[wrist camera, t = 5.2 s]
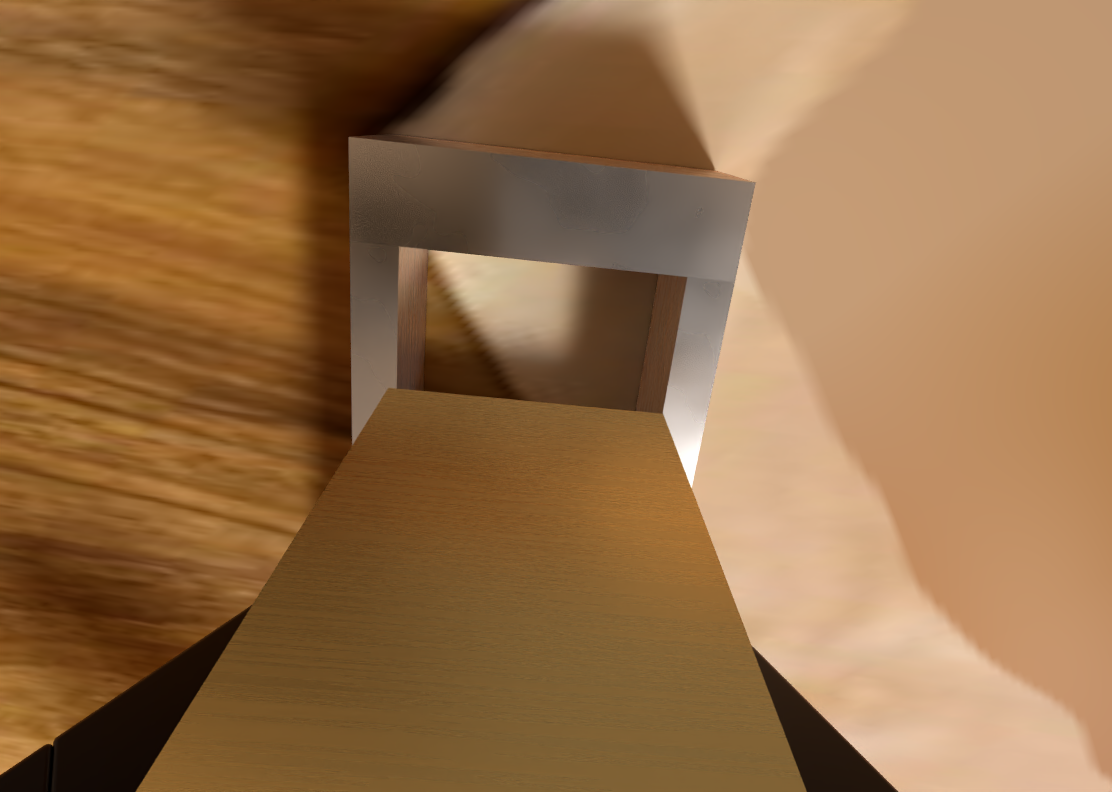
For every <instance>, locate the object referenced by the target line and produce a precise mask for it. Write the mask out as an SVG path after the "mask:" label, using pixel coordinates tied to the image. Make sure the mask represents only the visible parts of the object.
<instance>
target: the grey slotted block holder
mask: <svg viewBox="0 0 1112 792" xmlns="http://www.w3.org/2000/svg"><path fill="white" fill-rule="evenodd" d="M754 188H755V182H752V181H749V180H745V179H742V178H739V177H735V176H732V175H729V174H725V173H722V172H719V171H714V170H705V169H697V168H688V167H679V166H670V165H661V164H652V163H643V162H634V161H626V160H617V159H608V158H599V157H590V156H581V155H572V154H563V153H555V152H546V151H537V150H528V149H519V148H510V147H501V146H492V145H483V144H475V143H466V142H457V141H448V140H439V139H430V138H421V137H412V136H404V135H395V134H383V135H368V136H354V137H349V218H350V303H351V389H352V445H353V443H354V442H355V440H356V439H357V437H358V435H359V434H360V432H361V431H362V429H363V427H364V426H365V424H366V423H367V421H368V419H369V418H370V416H371V415H372V413H373V411H374V410H375V408H376V407H377V405H378V403H379V402H380V400H381V399H382V397H383V395H384V394H385V392H386V391H387V389H388V388H397V389H407V390H418V391H423V390H424V359H425V328H426V298H427V267H428V250H437V251H447V252H456V253H465V254H475V255H484V256H494V257H503V258H513V259H522V260H532V261H541V262H550V263H560V264H569V265H579V266H588V267H598V268H607V269H617V270H626V271H635V272H645V273H654V274H658V279H657V285H656V291H655V297H654V303H653V309H652V315H651V321H650V327H649V333H648V339H647V345H646V351H645V357H644V364H643V370H642V376H641V382H640V388H639V394H638V400H637V406H636V411H639V412H649V413H660V414H663V415H664V417H665V420H666V422H667V425H668V428H669V430H670V433H671V436H672V438H673V441H674V444H675V446H676V449H677V451H678V454H679V457H680V459H681V462H682V465H683V467H684V470H685V472H686V475H687V478H688V480H689V483H690V486H691V488H692V483H693V478H694V473H695V469H696V464H697V459H698V454H699V450H700V445H701V440H702V435H703V430H704V426H705V421H706V416H707V411H708V407H709V402H710V397H711V392H712V388H713V383H714V378H715V373H716V369H717V364H718V359H719V354H720V350H721V345H722V340H723V335H724V330H725V326H726V321H727V316H728V311H729V307H730V302H731V297H732V292H733V288H734V283H735V278H736V273H737V269H738V264H739V259H740V254H741V249H742V245H743V240H744V235H745V230H746V226H747V221H748V216H749V211H750V207H751V202H752V197H753V192H754Z"/></svg>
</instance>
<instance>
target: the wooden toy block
mask: <svg viewBox="0 0 1112 792" xmlns="http://www.w3.org/2000/svg"><path fill="white" fill-rule="evenodd" d="M136 792H807V791H806V788H805V786H804V783H803V781H802V778H801V775H800V773H799V770H798V767H797V765H796V762H795V759H794V757H793V754H792V752H791V749H790V746H789V744H788V741H787V738H786V736H785V733H784V730H783V728H782V725H781V723H780V720H779V717H778V715H777V712H776V709H775V707H774V704H773V702H772V699H771V696H770V694H769V691H768V688H767V686H766V683H765V680H764V678H763V675H762V673H761V670H760V667H759V665H758V662H757V659H756V657H755V654H754V652H753V649H752V646H751V644H750V641H749V638H748V636H747V633H746V630H745V628H744V625H743V623H742V620H741V617H740V615H739V612H738V609H737V607H736V604H735V601H734V599H733V596H732V594H731V591H730V588H729V586H728V583H727V580H726V578H725V575H724V573H723V570H722V567H721V565H720V562H719V559H718V557H717V554H716V551H715V549H714V546H713V544H712V541H711V538H710V536H709V533H708V530H707V528H706V525H705V523H704V520H703V517H702V515H701V512H700V509H699V507H698V504H697V501H696V499H695V496H694V494H693V491H692V488H691V486H690V483H689V480H688V478H687V475H686V472H685V470H684V467H683V465H682V462H681V459H680V457H679V454H678V451H677V449H676V446H675V444H674V441H673V438H672V436H671V433H670V430H669V428H668V425H667V422H666V420H665V417H664V415H663V414H660V413H649V412H639V411H628V410H618V409H607V408H597V407H586V406H576V405H565V404H555V403H544V402H534V401H523V400H512V399H502V398H491V397H481V396H470V395H460V394H449V393H439V392H428V391H418V390H407V389H397V388H388V389H387V391H386V392H385V394H384V395H383V397H382V399H381V400H380V402H379V403H378V405H377V407H376V408H375V410H374V411H373V413H372V415H371V416H370V418H369V419H368V421H367V423H366V424H365V426H364V427H363V429H362V431H361V432H360V434H359V435H358V437H357V439H356V440H355V442H354V443H353V445H352V447H351V448H350V450H349V451H348V453H347V455H346V456H345V458H344V459H343V461H342V463H341V464H340V466H339V467H338V469H337V471H336V472H335V474H334V475H333V477H332V479H331V480H330V482H329V483H328V485H327V487H326V488H325V490H324V491H323V493H322V495H321V496H320V498H319V499H318V501H317V503H316V504H315V506H314V507H313V509H312V511H311V512H310V514H309V515H308V517H307V519H306V520H305V522H304V523H303V525H302V527H301V528H300V530H299V531H298V533H297V535H296V536H295V538H294V539H293V541H292V543H291V544H290V546H289V547H288V549H287V551H286V552H285V554H284V555H283V557H282V559H281V560H280V562H279V563H278V565H277V567H276V568H275V570H274V571H273V573H272V575H271V576H270V578H269V579H268V581H267V583H266V584H265V586H264V587H263V589H262V591H261V592H260V594H259V595H258V597H257V599H256V600H255V602H254V603H253V605H252V607H251V608H250V610H249V611H248V613H247V615H246V616H245V618H244V619H243V621H242V623H241V624H240V626H239V627H238V629H237V631H236V632H235V634H234V635H233V637H232V639H231V640H230V642H229V643H228V645H227V647H226V648H225V650H224V651H223V653H222V655H221V656H220V658H219V659H218V661H217V663H216V664H215V666H214V667H213V669H212V671H211V672H210V674H209V675H208V677H207V679H206V680H205V682H204V683H203V685H202V687H201V688H200V690H199V691H198V693H197V695H196V696H195V698H194V699H193V701H192V703H191V704H190V706H189V707H188V709H187V711H186V712H185V714H184V715H183V717H182V719H181V720H180V722H179V723H178V725H177V727H176V728H175V730H174V731H173V733H172V735H171V736H170V738H169V739H168V741H167V743H166V744H165V746H164V747H163V749H162V751H161V752H160V754H159V755H158V757H157V759H156V760H155V762H154V763H153V765H152V767H151V768H150V770H149V771H148V773H147V775H146V776H145V778H144V779H143V781H142V783H141V784H140V786H139V787H138V789H137V791H136Z"/></svg>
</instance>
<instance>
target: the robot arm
mask: <svg viewBox="0 0 1112 792" xmlns="http://www.w3.org/2000/svg"><path fill="white" fill-rule="evenodd" d="M251 607H252V605H251V606H250V607H248V608H247V609H245V610H244V611H242V612H241V613H239V614H238V615H236V616H235V617H234V618H232V619H231V620H229V621H228V622H226V623H225V624H223V625H222V626H220V627H219V628H217V629H216V630H214V631H213V632H211V633H210V634H208V635H207V636H205V637H204V638H203V639H201V640H200V641H198V642H197V643H195V644H194V645H192V646H191V647H189V648H188V649H186V650H185V651H183V652H182V653H180V654H179V655H177V656H176V657H174V658H173V659H172V660H170V661H169V662H167V663H166V664H164V665H163V666H161V667H160V668H158V669H157V670H155V671H154V672H152V673H151V674H149V675H148V676H146V677H145V678H144V679H142V680H141V681H139V682H138V683H136V684H135V685H133V686H132V687H130V688H129V689H127V690H126V691H124V692H123V693H121V694H120V695H118V696H117V697H115V698H114V699H113V700H111V701H110V702H108V703H107V704H105V705H104V706H102V707H101V708H99V709H98V710H96V711H95V712H93V713H92V714H90V715H89V716H87V717H86V718H84V719H83V720H82V721H80V722H79V723H77V724H76V725H74V726H73V727H71V728H70V729H68V730H67V731H65V732H64V733H62V734H61V735H59V736H58V737H57V738H55V740H54V742H53V746H52V745H51V744H46V745H44V746H43V747H41V748H40V749H38V750H37V751H35V752H34V753H32V754H31V755H29V756H28V757H26V758H25V759H24V760H22V761H21V762H19V763H18V764H16V765H15V766H13V767H12V768H10V769H9V770H7V771H6V772H4V773H3V774H1V775H0V792H136V791H137V789H138V787H139V786H140V784H141V783H142V781H143V779H144V778H145V776H146V775H147V773H148V771H149V770H150V768H151V767H152V765H153V763H154V762H155V760H156V759H157V757H158V755H159V754H160V752H161V751H162V749H163V747H164V746H165V744H166V743H167V741H168V739H169V738H170V736H171V735H172V733H173V731H174V730H175V728H176V727H177V725H178V723H179V722H180V720H181V719H182V717H183V715H184V714H185V712H186V711H187V709H188V707H189V706H190V704H191V703H192V701H193V699H194V698H195V696H196V695H197V693H198V691H199V690H200V688H201V687H202V685H203V683H204V682H205V680H206V679H207V677H208V675H209V674H210V672H211V671H212V669H213V667H214V666H215V664H216V663H217V661H218V659H219V658H220V656H221V655H222V653H223V651H224V650H225V648H226V647H227V645H228V643H229V642H230V640H231V639H232V637H233V635H234V634H235V632H236V631H237V629H238V627H239V626H240V624H241V623H242V621H243V619H244V618H245V616H246V615H247V613H248V611H249V610H250V608H251ZM751 646H752V645H751ZM752 649H753V652H754V654H755V657H756V659H757V662H758V665H759V667H760V670H761V673H762V675H763V678H764V680H765V683H766V686H767V688H768V691H769V694H770V696H771V699H772V702H773V704H774V707H775V709H776V712H777V715H778V717H779V720H780V723H781V725H782V728H783V730H784V733H785V736H786V738H787V741H788V744H789V746H790V749H791V752H792V754H793V757H794V759H795V762H796V765H797V767H798V770H799V773H800V775H801V778H802V781H803V783H804V786H805V788H806V791H807V792H898V791H897V790H896V789H895V788H894V787H893V786H892V785H891V784H890V783H889V782H888V781H887V780H886V779H885V778H884V777H883V776H882V775H881V774H880V773H879V772H878V771H877V770H876V769H875V768H874V767H873V766H872V765H871V764H870V763H869V762H868V761H867V760H866V759H865V758H864V757H863V756H862V755H861V754H860V753H859V752H858V751H857V750H856V749H855V748H854V747H853V746H852V745H851V744H850V743H849V742H848V741H847V740H846V739H845V738H844V737H843V736H842V735H841V734H840V733H839V732H838V731H837V730H836V729H835V728H834V727H833V726H832V725H831V724H830V723H829V722H828V721H827V720H826V719H825V718H824V717H823V716H822V715H821V714H820V713H819V712H818V711H817V710H816V709H815V708H814V707H813V706H812V705H811V704H810V703H809V702H808V701H807V700H806V699H805V698H804V697H803V696H802V695H801V694H800V693H799V692H798V691H797V690H796V689H795V688H794V687H793V686H792V685H791V684H790V683H789V682H788V681H787V680H786V679H785V678H784V677H783V676H782V675H781V674H780V673H779V672H778V671H777V670H776V669H775V668H774V667H773V666H772V665H771V664H770V663H769V662H768V661H767V660H766V659H765V658H764V657H763V656H762V655H761V654H760V653H759V652H758V651H757V650H756V649H755V648H754V647H753V646H752Z"/></svg>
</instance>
